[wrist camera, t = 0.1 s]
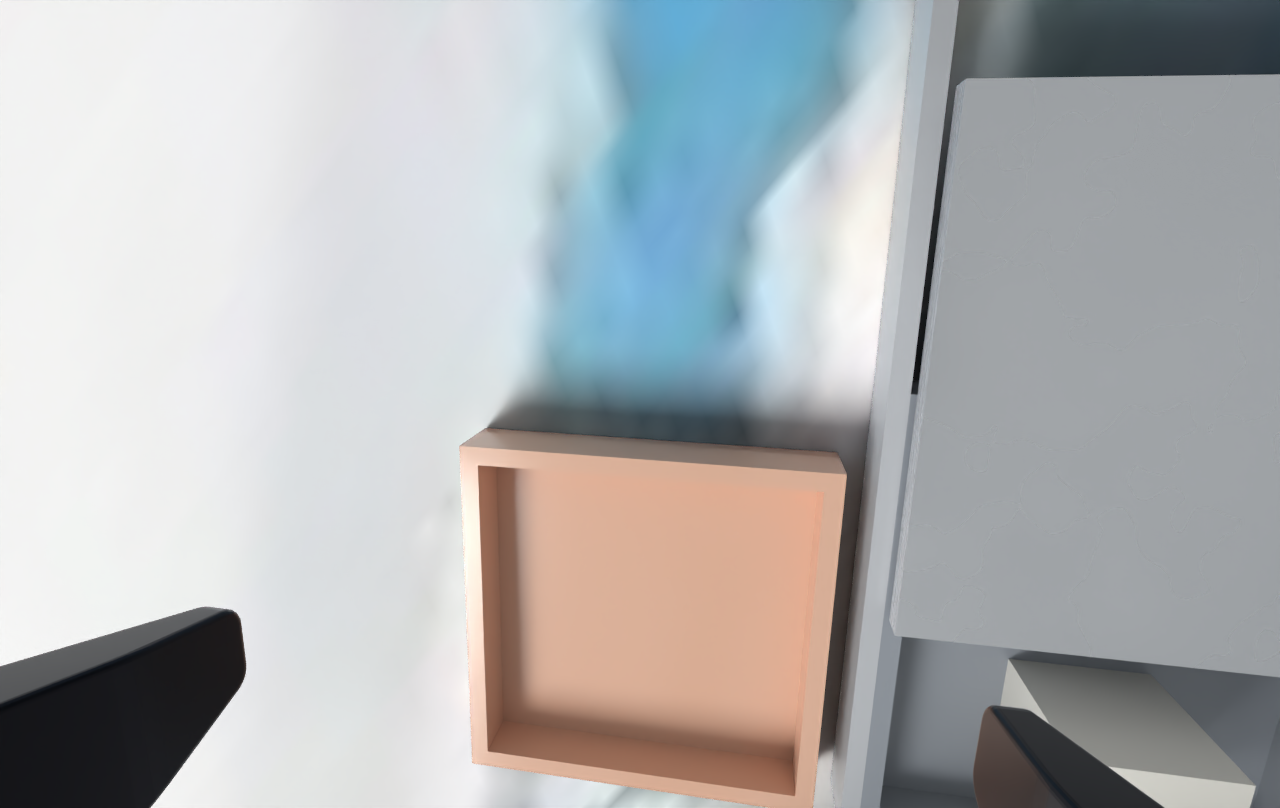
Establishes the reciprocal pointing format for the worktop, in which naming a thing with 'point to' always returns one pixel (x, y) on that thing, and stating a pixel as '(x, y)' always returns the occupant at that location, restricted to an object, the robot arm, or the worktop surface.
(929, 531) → the lid
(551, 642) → the bin
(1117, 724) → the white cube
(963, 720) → the bin
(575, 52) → the worktop surface
